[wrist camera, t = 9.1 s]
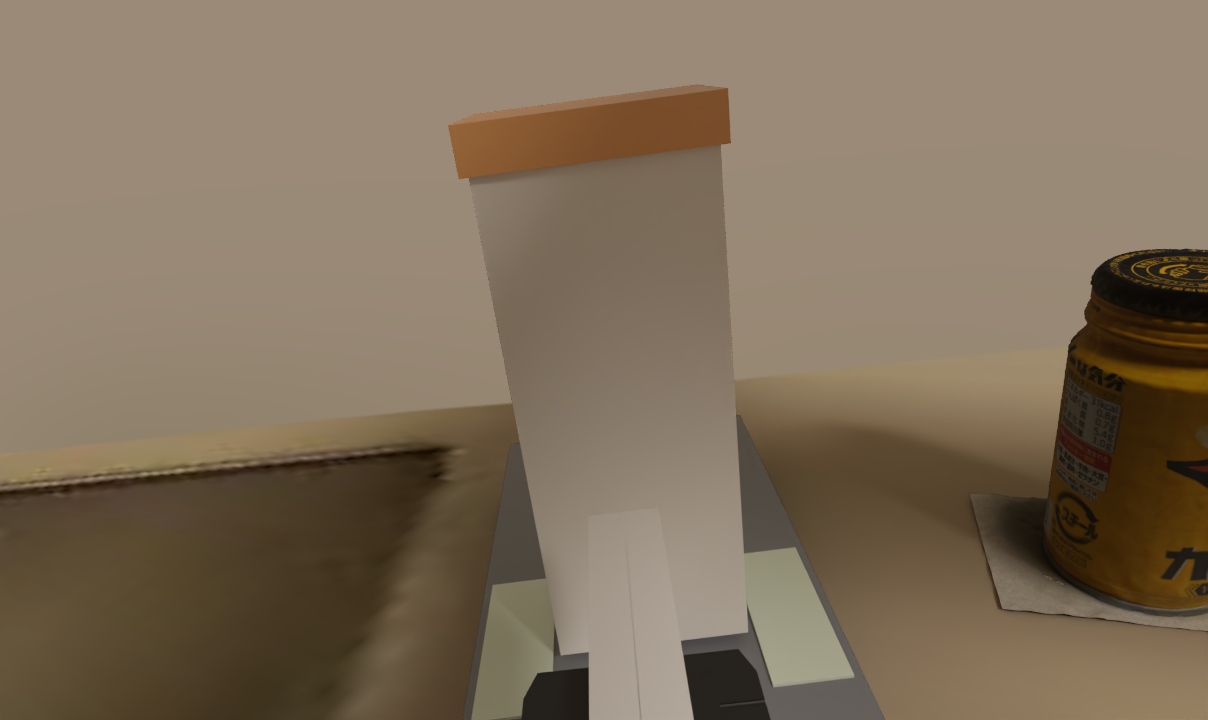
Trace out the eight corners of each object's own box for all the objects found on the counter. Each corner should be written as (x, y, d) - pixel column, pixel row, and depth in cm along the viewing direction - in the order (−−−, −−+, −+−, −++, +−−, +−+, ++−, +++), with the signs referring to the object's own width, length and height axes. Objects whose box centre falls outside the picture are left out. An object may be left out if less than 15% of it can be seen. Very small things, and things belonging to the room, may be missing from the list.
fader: (756, 636, 22) (727, 88, 16) (554, 661, 22) (447, 125, 16) (728, 548, 26) (696, 84, 20) (557, 569, 26) (473, 114, 20)
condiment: (1288, 641, 23) (1401, 298, 19) (1001, 612, 26) (1038, 305, 21) (1191, 512, 30) (1258, 232, 25) (968, 499, 32) (992, 243, 28)
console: (1215, 1569, 10) (1264, 1508, 9) (363, 1660, 10) (305, 1612, 9) (742, 461, 38) (739, 413, 36) (519, 489, 38) (510, 442, 37)
